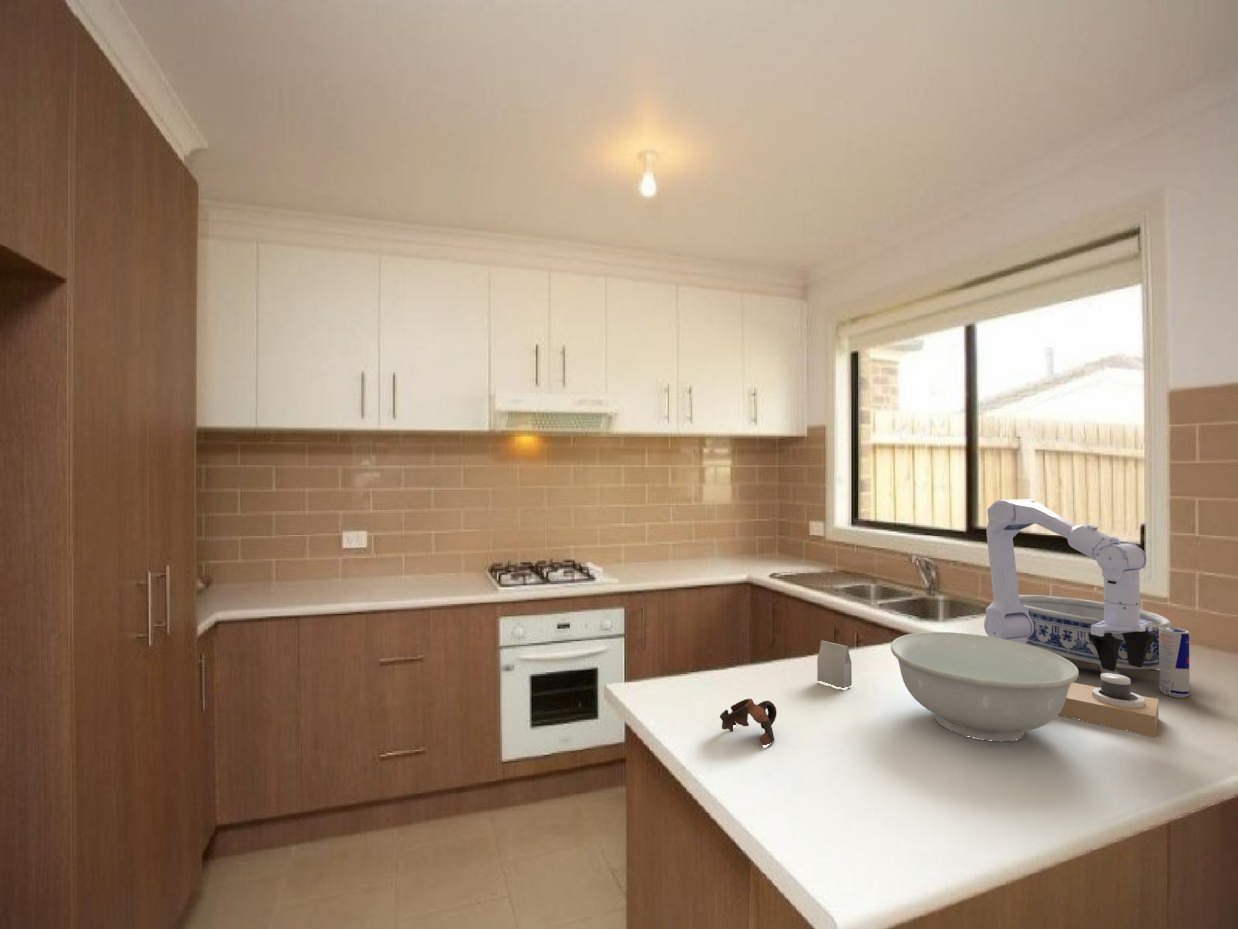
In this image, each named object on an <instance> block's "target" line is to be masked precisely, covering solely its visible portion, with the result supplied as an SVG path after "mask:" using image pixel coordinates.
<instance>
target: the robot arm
mask: <svg viewBox="0 0 1238 929" xmlns="http://www.w3.org/2000/svg"><path fill="white" fill-rule="evenodd" d="M987 517H988V523H987V526H986V530H985V531H986V540H987V551H988V558H989V560H988V561H989V567H990V579H991V587H992V596H993V597H992V598H993V600H992V603H990V604H989V605H988V606H987V607H986V608H985V618H984V621H983V628H984V631H985V634H986V636H989V637H994V638H1000V639H1005V640H1010V641H1015V642H1019V643H1023V644H1026V642H1028V637H1030V636H1031V635H1032V634H1033V631H1034V625H1033V622H1032V620H1031V619H1030V616H1029V613H1028V608H1026V607H1025V606H1024V605H1023V604H1022V603H1021V602H1020V599H1019V595H1020V592H1019V583H1018V577H1017V576H1018V573H1017V565H1016V556H1015V546H1014V540H1013V538H1014V537H1016V535H1017V534H1018V533H1020V532H1021V531H1022V530H1023V529H1027V528H1029V527H1031V526H1032V525H1038V526H1040V527H1042V528H1044V529H1046V530H1048V531H1051V532H1052V533H1054V534H1057V535H1059V536H1061V537H1063V538H1066V539H1067V543H1068V545H1069V547H1071V548H1073V549H1074V550H1076V551H1078V552H1080V553H1082V554H1083V555H1084V556H1085V555H1086V556H1087V557H1089V558H1091V559H1093V560H1094V561H1096V564H1097V565H1098V566H1099V568H1100V569H1101V574H1102V575H1101V576H1102V577H1103V602H1104V621H1101V622H1099V623H1097V624H1094V625H1091V632H1088V637H1089V638H1090V640H1091V641H1092V643H1093V644H1094V646H1095V648H1096V650H1097V653H1098V656H1099V659H1100V662H1101V665H1102V668H1103V669H1106V670H1110V671H1116V668H1117V667H1116V663H1117V654H1118V650H1119V647H1120V645H1121V643H1122V642H1123V640H1121V639H1117V638H1114V636H1112V634H1118V633H1122V635H1123V637H1124V640H1125V643H1126V648H1127V658H1128V663H1129V665H1132V666H1135V667H1139V668H1141V667H1142V665H1143V663H1144V659H1145V656H1146V654H1147V651H1148V649H1149V647H1150V645H1151V644H1152V643H1153V641H1154V640H1155V639H1156V634H1153V633H1149V632H1148V631H1152V622H1150V621H1145V620H1140V609H1141V608H1140V606H1141V604H1140V597H1141V596H1140V595H1141V593H1140V585H1141V582H1140V579H1141V578H1140V570H1142V569H1143V568H1144V567H1145V566H1146V564H1147V555H1146V553H1145V551H1144V550H1143V549H1142V548H1141V547H1140V546H1139V545H1137V544H1136V543H1133V542H1123V543H1122V542H1121V541H1120V539H1119V538H1118V537H1115V536H1109V535H1107V534H1106V533H1103V532H1101V531H1099V530H1098V529H1099V528H1098V526H1095V524H1094V525H1093V524H1080V525H1076V524H1074V523H1073V522H1071V521H1069V520H1067V519H1065V518H1064V517H1062V516H1060V515H1059V514H1057V513H1055V512H1053V511H1052V510H1050V509H1049V508H1047V507H1045V505H1044V504H1043V503H1040V502H1036V501H1035V500H1033V499H1030V498H1024V499H1008V500H1007V499H997V500H996V501H994V502H993V503H992V504H991V505H990V506H989V507H988V508H987ZM1008 613H1010V614H1008Z"/></svg>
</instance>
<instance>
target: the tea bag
mask: <svg viewBox="0 0 1238 929" xmlns="http://www.w3.org/2000/svg"><path fill="white" fill-rule="evenodd" d="M816 662H817V663H816V666H817V671H816V672H817V673H816V674H817V678H816V679H817V681H822V682H825V683H828V684H831V685H834V686H836V687H841V688H845V687H849V686H851V685H852V678H853V677H852V675H853V674H852V673H853V672H852V664H853V663H852V660H851V655H850V650H849V646H848V645H843V644H839V643H834V642H830V641H825V640H820V644H819V650H818V655H817V660H816Z"/></svg>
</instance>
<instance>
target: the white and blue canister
mask: <svg viewBox="0 0 1238 929" xmlns="http://www.w3.org/2000/svg"><path fill="white" fill-rule="evenodd" d="M1159 629H1160V630H1159V671H1158V674H1159V675H1158V677H1159V678H1158V682H1159V683H1158V684H1159V685H1158V686H1159V690H1160V691H1161V692H1162V693H1163V694H1164V693H1165V694H1164V695H1166V694H1167V695H1166V696H1168V695H1169V697H1172V696H1173V697H1172V698H1181V699H1185V698H1186V697H1187V696H1189V695H1190V692H1191V690H1190V686H1191V685H1190V634H1189V633H1190V632H1189V630H1187V629H1182V628H1178V627H1171V626H1169V627H1160V628H1159Z"/></svg>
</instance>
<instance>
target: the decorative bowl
mask: <svg viewBox="0 0 1238 929" xmlns="http://www.w3.org/2000/svg"><path fill="white" fill-rule="evenodd" d="M1019 599H1020V602H1021V603H1022V604H1023V605H1024V606H1025V607H1026V608H1028V613H1029V616H1030V619H1031V620H1032V622H1033V625H1034V631H1033V634H1032V635H1031V636H1030V637H1028V642H1026V644H1027V645H1030V646H1034V647H1037V648H1041V649H1044V650H1047V651H1049V652H1052V653H1054V654H1057V655H1059V656H1061V657H1063V658H1066V659H1067V658H1069V659H1073V660H1077V661H1082V662H1087V663H1092V664H1096V665H1098V667H1099V669H1100V672H1101V673H1100V675H1101V674H1102V673H1112V674H1118V675H1122V674H1121V673H1120V672H1119V671H1118V670H1115V671H1110V670H1106V669H1103V668H1102V665H1101V662H1100V659H1099V656H1098V653H1097V650H1096V648H1095V646H1094V644H1093V643H1092V641H1091V640H1090V638H1089V637H1088V632H1091V625H1094V624H1097V623H1099V622H1101V621H1104V601H1103V602H1102V601H1096V600H1089V599H1082V598H1075V597H1073V598H1072V597H1065V596H1064V597H1063V596H1054V595H1043V594H1042V595H1041V594H1019ZM1008 614H1010V613H1008ZM1140 620H1145V621H1150V622H1152V631H1148V632H1149V633H1153V634H1156V639H1155V640H1154V641H1153V643H1152V644H1151V645H1150V647H1149V649H1148V651H1147V654H1146V656H1145V659H1144V663H1143V665H1142V667H1141V668H1139V667H1135V666H1132V665H1129V663H1128V658H1127V648H1126V643H1125V640H1124V637H1123V635H1122V633H1118V634H1112V636H1114V638H1117V639H1121V640H1123V642H1122V643H1121V645H1120V647H1119V650H1118V654H1117V663H1116V668H1119V669H1120V668H1122V669H1129V670H1130V669H1132V670H1150V669H1159V630H1160V629H1159V628H1160V627H1171V625H1172V623H1171V621H1170V620H1169V619H1168V618H1166V617H1165V616H1163V615H1160V614H1158V613H1154V612H1151V611H1148V610H1143V609H1141V608H1140Z"/></svg>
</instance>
